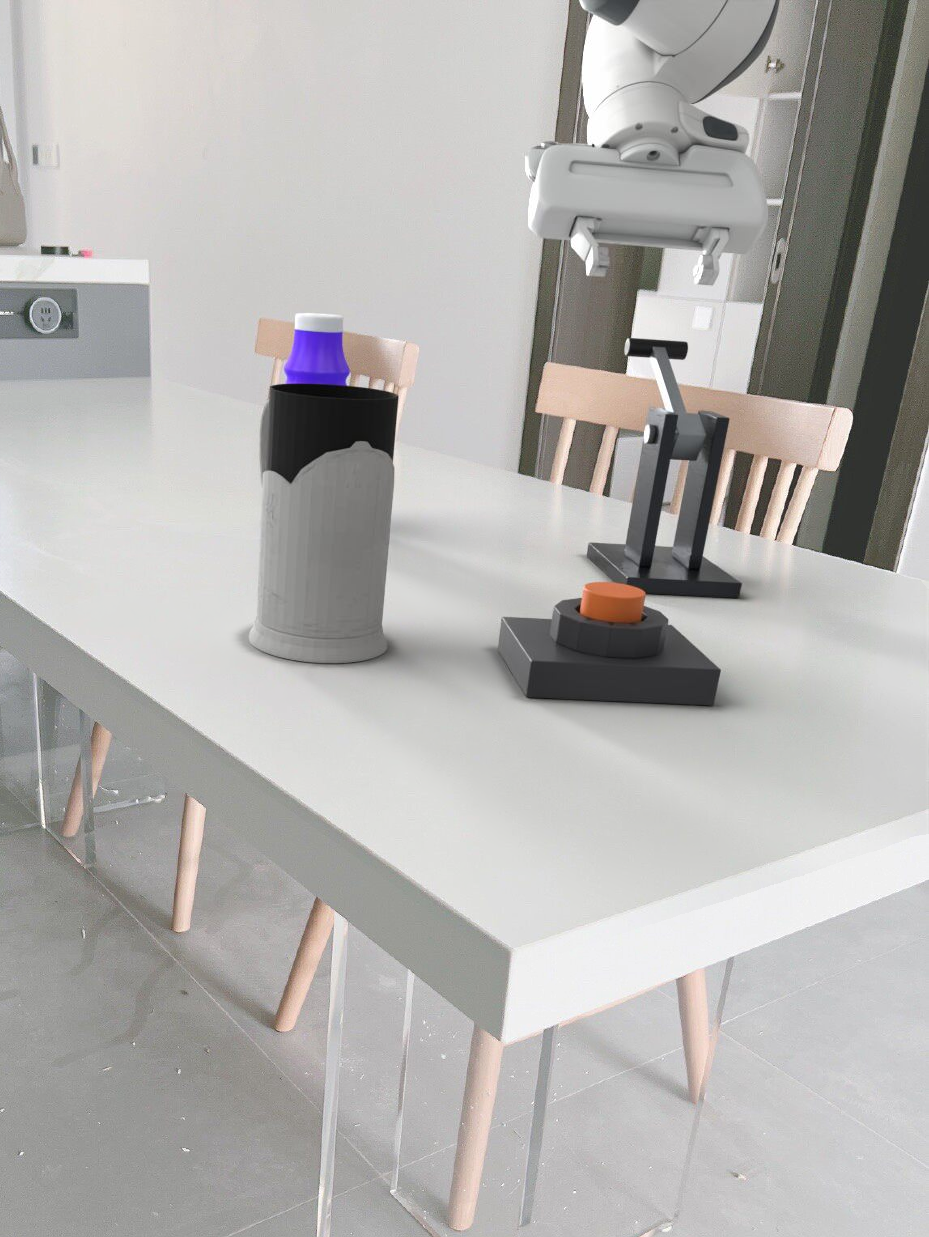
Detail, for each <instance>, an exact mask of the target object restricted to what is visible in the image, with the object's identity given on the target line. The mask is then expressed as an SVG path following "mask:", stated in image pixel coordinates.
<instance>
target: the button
mask: <svg viewBox="0 0 929 1237" xmlns="http://www.w3.org/2000/svg"><path fill="white" fill-rule="evenodd" d="M646 595H647V594H646V593H645V592H644V591H643V590H641V589H639V588H637V587H634V586H630V585H626V584H620V583H615V582H611V581H594V582H588V583H586V584H584V585H583V589H582V596H581V598H582V601H581V607H580V614H581V615H584V616H587V617H589V618H593V619H598V620H604V621H609V622H622V623H634V622H641V618H642V613H643V607H644V606H645V602H646V601H645V600H646Z"/></svg>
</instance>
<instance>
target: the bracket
mask: <svg viewBox="0 0 929 1237" xmlns="http://www.w3.org/2000/svg"><path fill="white" fill-rule="evenodd" d="M697 414H699V415H700V418H701V421H702V424H703V427H704V430H705V433H706V438H705V440H704V443H703V445H702V448H701V450H700V453H699V455H698V458H697V460H696V461H689V460H688V464H687V470H686V476H685V481H684V485H683V491H682V496H681V502H680V506H679V507H680V508H679V514H678V517H677V518H678V519H677V523H676V529H675V534H674V540H673V545H672V546H664V545H656V543H657V537H658V531H659V526H660V519H661V515H662V514H661V513H662V509H663V504H664V499H665V498H664V497H665V492H666V488H667V480H668V475H669V471H670V469H669V468H670V464H671V460H672V459H671V453H672V448H673V442H674V437H675V431H676V426H677V420H678V415H677V414H675V413H672V412H670V411H667V410H666V409H665V408H662V407H656V406H655V407H654V406H649V407H648V408H647V415H646V421H645V427H644V432H643V438H642V439H643V440H642V445H641V450H640V456H639V462H638V468H637V474H636V480H635V486H634V492H633V497H632V504H631V510H630V516H629V522H628V528H627V533H626V539H625V544H624V543H607V542H591V541H590V542H587V551H586V558H588V559H589V560H590V561H591V562H592V563H593V564H594V565H595V566H597V567H598V568H599V569H600V571H602V572H603V573H604V574H605V575H606V576H607V577H608V578H610V580H611V581H613V583H620V584H626V585H630V586H634V587H637V588H639V589H641V590H643V591H644V592H645V593H646V595H647V594H649V595H667V596H668V595H669V596H685V597H686V596H687V597H689V596H690V597H706V598H707V597H708V598H724V599H725V598H726V599H728V598H729V599H739V598H740V594H741V591H742V590H741V589H742V584H743V582H741V581H740V580H738V579H736V578H735V577H734V576H733V575H730V574H729V573H728V572H727V571H726V570H724V569H722V568H721V567H719V566H718V565H716V564H715V563H713V562H712V561H711V560H709V559H708V558H706V557H705V556H704V552H705V546H706V542H707V537H708V531H709V526H710V520H711V516H712V512H713V507H714V501H715V495H716V491H717V485H718V480H719V475H720V470H721V466H722V465H721V464H722V460H723V455H724V450H725V444H726V441H727V435H728V429H729V424H730V419H731V418H730V417H728V416H725V415H722V414H720V413H717V412H714V411H711V410H703V409H699V410H698V411H697Z"/></svg>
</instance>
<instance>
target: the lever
mask: <svg viewBox="0 0 929 1237" xmlns="http://www.w3.org/2000/svg"><path fill="white" fill-rule="evenodd" d="M688 343H689V342H688V341H683V340H682V341H681V340H668V339H667V340H666V339H655V338H654V339H653V338H651V339H650V338H639V337H637V338H636V337H628V338H627V339H626V341H625V343H624V351H623V352H624V356H625V357H631V358H645V359H646V358H647V359H649V361H650V364H651V367H652V370H653V374H654V377H655V380H656V383H657V387H658V390H659V393H660V396H661V399H662V403H663V405H664V409H665V410H667V411H670V412H672V413H675V414H677V415H678V420H677V426H676V431H675V437H674V442H673V448H672V453H671V459H670V460H671V461H672V460H673V461H674V460H675V461H688V462H689V461H696V460H697V458H698V455H699V453H700V450H701V448H702V445H703V443H704V440H705V438H706V433H705V430H704V427H703V424H702V421H701V418H700V415H699V414H698V413H697V412H696V413H694V412H688V411H687V409H686V406H685V404H684V401H683V397H682V395H681V394H682V393H681V391H680V388H679V385H678V382H677V379H676V376H675V373H674V369H673V367H672V364H671V361H670V360H678V361H680V360H681V361H684V360H685V359H686V358H687V356H688V352H689V344H688Z"/></svg>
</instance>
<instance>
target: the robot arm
mask: <svg viewBox="0 0 929 1237" xmlns="http://www.w3.org/2000/svg"><path fill="white" fill-rule="evenodd" d="M578 2H579V4H580V7H582V9H583V10H584V11H586V12H588V13H590V14H591V15H592V17H591V20H590V23H589V26H588V28H587V33H586V37H585V42H584V46H583V55H582V89H583V100H584V101H583V102H584V106H585V107H584V108H585V110H586V113H587V115H588V117H589V118H588V121H587V127H586V128H587V129H586V138H587V143H578V142H570V143H564V142H563V143H562V142H557V141H554V140H546V141H542V142H541V145H540V144H539V145H535V146H532V147H531V148H529V149H528V151H527V152H526V154H525V158H524V159H525V160H524V161H525V172H526V175H527V178H528V179H529V181H530V182H531V183H532V187H531V190H530V197H529V205H528V228H529V229H530V231H531V232H532V233H533V234H534V235H535V236H536V237H537V238H540V239H549V240H560V241H561V240H562V241H570V246H571V248H572V249H573V251H575V253H576V255H577V256H579V257H580V259H581V260H582V262H584V263H585V270H586V276H587V277H597V278H605V276H606V275H607V271H608V270H609V267H610V262H611V258H610V256H609V255H610V248H609V246H601V245H599V244H610V245H611V244H612V245H624V246H637V247H649V248H661V249H673V250H674V249H675V250H687V251H698V252H699V251H700V252H702V253H703V254H701V255H700V257H699V258H698V263H696V265H695V267H694V268H693V277H694V284H695V285H699V286H700V285H701V286H710V287H711V286H714V285H715V283H716V281H717V279H718V277H719V275H720V270H721V268H720V263H719V262H720V261H719V260H720V259H721V257H722V254H723V253H724V254H735V255H746V254H748V253H750V251H751V250H752V249H753V248H754V247H755V245H757V243H758V242H759V240H760V238H761V236H762V235H763V234H764V230H765V229H766V226H767V224H768V220H769V207H768V206H769V205H768V200H767V195H766V190H765V187H764V183H763V178H762V176H761V172H760V170H759V168H758V165H757V164H756V162H755V161H754V160H753V159H752V158H751V157H750V156H749V155H748V154H746V152H747V150H748V147H749V144H750V134H749V131H748V130H747V129H746V127H744V126H742V125H739V124H737V123H734V122H730V121H729V120H725V119H723V118H721V117H720V118H719V117H717V116H715V115H712V114H710V113H707V112H706V111H703V110H702V109H700V108H698V107H696V106H694V105H695V104H698V103H700V102H702V101H704V100H706V99H708V98H709V97H710V96H713V95H714V94H715V93H716V92H719V91H721V89H723V88H724V87H726V86H728V85H730V84H731V83H732V82H734V81H735V80H736V79H738V78H739V77H740V76H741V75H743V73H744V72H745V71H747V70H748V69H749V68H750V67H751V66H752V65H753V64H754V63H755V61H756V60H757V59H758V58H759V56H761V54H762V52H763V51H764V50H765V48H766V46H767V44H768V43H769V41H770V38H771V36H772V32H773V29H774V26H775V24H776V20H777V17H778V12H779V7H780V2H781V0H579V1H578Z"/></svg>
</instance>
